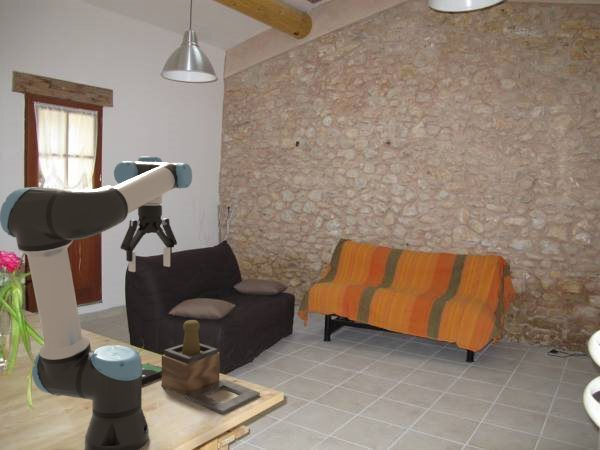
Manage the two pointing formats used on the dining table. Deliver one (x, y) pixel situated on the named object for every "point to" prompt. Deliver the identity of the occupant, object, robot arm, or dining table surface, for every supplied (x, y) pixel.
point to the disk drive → (150, 373)
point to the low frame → (222, 408)
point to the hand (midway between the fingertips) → (149, 268)
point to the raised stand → (190, 369)
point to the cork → (191, 338)
